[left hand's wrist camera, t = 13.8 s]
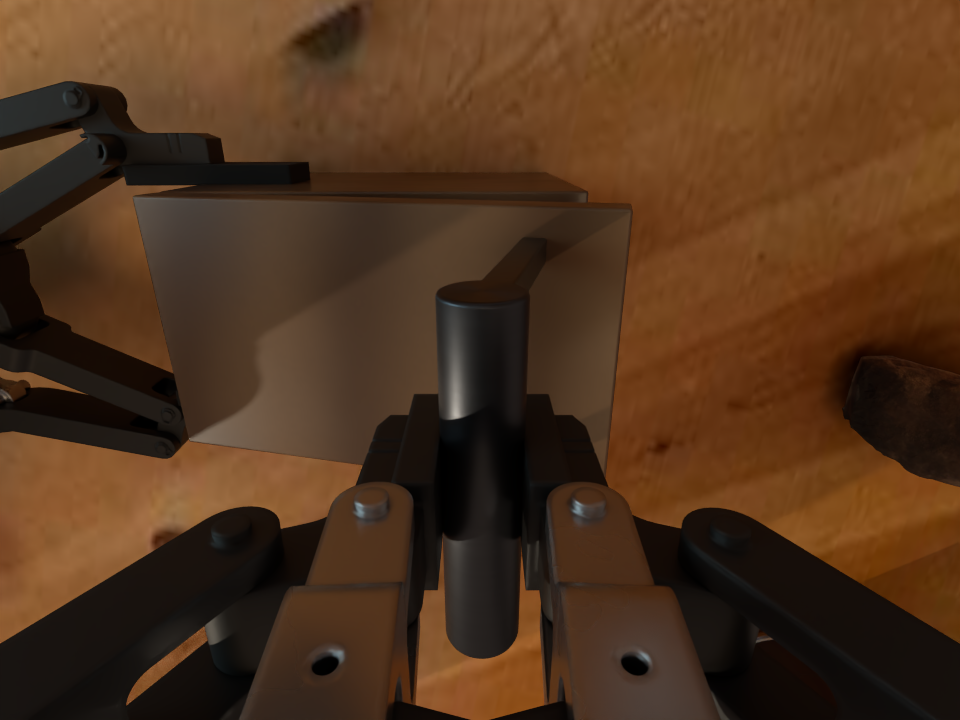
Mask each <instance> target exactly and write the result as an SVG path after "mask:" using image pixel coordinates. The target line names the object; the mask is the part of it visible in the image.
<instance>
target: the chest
mask: <svg viewBox="0 0 960 720" xmlns="http://www.w3.org/2000/svg"><path fill="white" fill-rule="evenodd" d="M162 192H173V193H214V194H255V195H296V196H337V197H377V198H418V199H459V200H500V201H541V202H582V203H588V192H587V191H585V190H583V189H581V188H579V187H576V186H574V185H572V184H570V183H568V182H566V181H563V180H561V179H559V178H557V177H555V176H553V175H550V174H548V173H310V180H307V181H303V182H299V183H295V184H203V185H197V186H191V187H185V188H179V189H174V190H168V191H162Z"/></svg>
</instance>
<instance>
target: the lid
mask: <svg viewBox="0 0 960 720" xmlns="http://www.w3.org/2000/svg"><path fill="white" fill-rule="evenodd" d="M133 201H134V205H135V209H136V214H137V218H138V222H139V227H140V231H141V235H142V240H143V244H144V248H145V252H146V257H147V261H148V265H149V270H150V274H151V278H152V282H153V287H154V291H155V295H156V300H157V304H158V308H159V313H160V317H161V321H162V325H163V330H164V334H165V338H166V343H167V347H168V351H169V356H170V360H171V364H172V368H173V373H174V377H175V381H176V386H177V390H178V394H179V399H180V403H181V407H182V411H183V416H184V420H185V424H186V429H187V433H188V437H189V440H190V441H191V442H198V443H205V444H212V445H220V446H227V447H234V448H242V449H249V450H256V451H263V452H271V453H278V454H285V455H293V456H300V457H307V458H315V459H322V460H329V461H337V462H344V463H351V464H358V465H363V464H364V461H365V458H366V455H367V453H368V450H369V447H370V444H371V442H372V439H373V436H374V433H375V430H376V428H377V426H378V425H379V424H380V423H381V422H383V421H384V420H385V419H386V418H387V417H389V416H390V415H409V411H410V407H411V403H412V400H413V396H414V394H438V398H439V429H440V452H441V484H442V515H443V553H444V584H445V615H446V633H447V636H448V639H449V640H450V642H451V643H452V645H453V646H454V647H455V648H456V649H457V650H458V651H459V652H461V653H463V654H464V655H467V656H469V657H473V658H479V659H485V658H492V657H495V656H498V655H500V654H502V653H504V652H505V651H506V650H507V649H509V648H510V646H511V645H512V644H513V642H514V641H515V639H516V637H517V634H518V624H519V596H520V568H521V537H520V532H521V503H522V474H523V446H524V437H525V429H526V401H527V394H549V397H550V400H551V404H552V408H553V411H554V415H573V416H574V417H575V418H577V419H578V420H579V421H580V422H581V423H583V424H584V425H585V426H586V428H587V431H588V433H589V436H590V439H591V442H592V444H593V447H594V450H595V453H596V455H597V458H598V460H599V463H600V466H601V468H602V471H603V474H604V477H606V467H607V457H608V447H609V438H610V428H611V418H612V409H613V399H614V389H615V380H616V370H617V360H618V350H619V341H620V331H621V321H622V312H623V302H624V292H625V283H626V273H627V263H628V253H629V244H630V234H631V224H632V215H633V210H632V206H631V204H623V203H582V202H541V201H500V200H459V199H418V198H377V197H337V196H296V195H255V194H214V193H173V192H159V193H151V194H142V195H135V196H133Z"/></svg>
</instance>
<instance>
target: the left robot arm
mask: <svg viewBox="0 0 960 720" xmlns="http://www.w3.org/2000/svg"><path fill="white" fill-rule="evenodd" d="M520 537H521V547H522V557H523V567H524V577H525V587H526V590H539V591H540V598H541V614H540V637H541V654H542V671H543V688H544V704H545V705H544V706H540V707H536V708H532V709H529V710H525V711H521V712H517V713H514V714H510V715H506V716H502V717H498V718H495V719H491V720H960V644H959V643H958V642H956V641H954V640H953V639H951V638H949V637H948V636H946V635H944V634H943V633H941V632H939V631H938V630H936V629H935V628H933V627H931V626H930V625H928V624H926V623H925V622H923V621H921V620H920V619H918V618H916V617H915V616H913V615H911V614H910V613H908V612H906V611H905V610H903V609H901V608H900V607H898V606H897V605H895V604H893V603H892V602H890V601H888V600H887V599H885V598H883V597H882V596H880V595H878V594H877V593H875V592H873V591H872V590H870V589H868V588H867V587H865V586H863V585H862V584H860V583H859V582H857V581H855V580H854V579H852V578H850V577H849V576H847V575H845V574H844V573H842V572H840V571H839V570H837V569H835V568H834V567H832V566H830V565H829V564H827V563H825V562H824V561H822V560H821V559H819V558H817V557H816V556H814V555H812V554H811V553H809V552H807V551H806V550H804V549H802V548H801V547H799V546H797V545H796V544H794V543H792V542H791V541H789V540H787V539H786V538H784V537H783V536H781V535H779V534H778V533H776V532H774V531H773V530H771V529H769V528H768V527H766V526H764V525H763V524H761V523H759V522H758V521H756V520H754V519H752V518H751V517H749V516H746V515H744V514H741V513H738V512H735V511H732V510H728V509H722V508H702V509H697V510H695V511H692V512H691V513H689V514H688V515H687V516H686V517H685V518H684V520H683V523H682V528H681V529H680V528H676V527H671V526H666V525H662V524H657V523H653V522H649V521H646V520H643V519H640V518H638V517H636V516H634V515H632V513H631V510H630V507H629V505H628V503H627V501H626V500H625V499H624V498H623V497H622V496H621V495H620V494H619V493H617V492H616V491H614V490H612V489H611V488H609V487H608V485H607V482H606V479H605V477H604V474H603V471H602V468H601V466H600V463H599V460H598V458H597V455H596V453H595V450H594V447H593V444H592V442H591V439H590V436H589V433H588V431H587V428H586V426H585V425H584V424H583V423H581V422H580V421H579V420H578V419H577V418H575V417H574V416H573V415H554V411H553V408H552V404H551V400H550V397H549V394H527V401H526V429H525V437H524V446H523V474H522V503H521V532H520ZM442 538H443V515H442V484H441V452H440V429H439V398H438V394H414V396H413V400H412V403H411V407H410V411H409V415H390V416H389V417H387V418H386V419H385V420H384V421H383V422H381V423H380V424H379V425H378V426H377V428H376V430H375V433H374V436H373V439H372V442H371V444H370V447H369V450H368V453H367V455H366V458H365V461H364V464H363V467H362V469H361V472H360V475H359V478H358V480H357V483H356V486H354V487H351V488H349V489H347V490H346V491H344V492H343V493H341V494H340V495H339V496H338V497H337V498H336V499H335V500H334V501H333V503H332V505H331V507H330V510H329V513H328V516H327V517H325V518H323V519H320V520H318V521H314V522H311V523H307V524H302V525H297V526H293V527H288V528H283V529H281V528H280V522H279V519H278V517H277V515H276V514H275V513H273V512H272V511H270V510H268V509H265V508H261V507H252V506H250V507H239V508H233V509H229V510H226V511H223V512H220V513H218V514H215V515H213V516H211V517H209V518H207V519H206V520H204V521H202V522H201V523H199V524H197V525H196V526H194V527H192V528H191V529H189V530H187V531H186V532H184V533H182V534H181V535H179V536H177V537H176V538H174V539H173V540H171V541H169V542H168V543H166V544H164V545H163V546H161V547H159V548H158V549H156V550H154V551H153V552H151V553H149V554H148V555H146V556H144V557H143V558H141V559H139V560H138V561H136V562H135V563H133V564H131V565H130V566H128V567H126V568H125V569H123V570H121V571H120V572H118V573H116V574H115V575H113V576H111V577H110V578H108V579H106V580H105V581H103V582H101V583H100V584H98V585H97V586H95V587H93V588H92V589H90V590H88V591H87V592H85V593H83V594H82V595H80V596H78V597H77V598H75V599H73V600H72V601H70V602H68V603H67V604H65V605H64V606H62V607H60V608H59V609H57V610H55V611H54V612H52V613H50V614H49V615H47V616H45V617H44V618H42V619H40V620H39V621H37V622H35V623H34V624H32V625H30V626H29V627H27V628H26V629H24V630H22V631H21V632H19V633H17V634H16V635H14V636H12V637H11V638H9V639H7V640H6V641H4V642H2V643H1V644H0V720H469V719H465V718H462V717H458V716H454V715H450V714H446V713H443V712H439V711H435V710H431V709H428V708H424V707H420V706H416V705H415V704H416V687H417V670H418V654H419V637H420V615H419V613H420V611H421V608H422V604H423V596H424V590H438V581H439V570H440V559H441V548H442ZM202 627H205V631H206V635H207V639H208V641H207V642H205V643H204V644H203V645H202V646H200V647H199V648H198V649H197V650H195V651H194V652H193V653H192V654H190V655H189V656H188V657H187V658H185V659H184V660H183V661H182V662H180V663H179V664H178V665H177V666H175V667H174V668H173V669H172V670H171V671H169V672H168V673H167V674H166V675H164V676H163V677H162V678H161V679H159V680H158V681H157V682H156V683H154V684H153V685H152V686H151V687H149V688H148V689H147V690H146V691H144V692H143V693H142V694H141V695H139V696H138V697H137V698H136V699H134V700H133V701H132V702H131V703H129V704H128V705H127V706H126V702H127V698H128V696H129V693H130V691H131V689H132V687H133V686H134V684H135V683H136V682H137V680H138V679H139V678H140V677H141V676H142V675H143V674H144V673H145V672H146V671H147V670H148V669H149V668H151V667H152V666H153V665H155V664H156V663H157V662H158V661H160V660H161V659H162V658H164V657H165V656H166V655H167V654H169V653H170V652H171V651H173V650H174V649H175V648H177V647H178V646H179V645H180V644H182V643H183V642H184V641H186V640H187V639H188V638H189V637H191V636H192V635H193V634H195V633H196V632H197V631H198V630H200V629H201V628H202Z"/></svg>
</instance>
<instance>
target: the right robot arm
mask: <svg viewBox="0 0 960 720" xmlns="http://www.w3.org/2000/svg"><path fill="white" fill-rule="evenodd" d="M126 111H127V102H126V98H125V97H124V95H123V94H122V93H121V92H120V91H119V90H118V89H116V88H113V87H109V86H102V85H95V84H88V83H80V82H73V81H65V82H62V83H58V84H55V85H51V86H47V87H44V88H40V89H37V90H33V91H29V92H26V93H22V94H19V95H15V96H11V97H8V98H4V99H1V100H0V150H3V149H7V148H10V147H14V146H18V145H21V144H25V143H29V142H33V141H36V140H40V139H44V138H47V137H51V136H55V135H58V134H62V133H66V132H70V131H73V130H77V129H81V128H83V130H84V132H85V133H84V134H81V135H80V136H81V138H87V139H85V140H84V141H82V142H81V143H79V144H77V145H76V146H74V147H73V148H71V149H69V150H68V151H66V152H65V153H63V154H62V155H60V156H58V157H57V158H55V159H54V160H52V161H51V162H49V163H47V164H46V165H44V166H43V167H41V168H39V169H38V170H36V171H35V172H33V173H32V174H30V175H28V176H27V177H25V178H24V179H22V180H20V181H19V182H17V183H16V184H14V185H13V186H11V187H9V188H8V189H6V190H5V191H3V192H2V193H0V368H2V369H4V370H7V371H10V372H31V373H34V374H37V375H40V376H42V377H45V378H47V379H50V380H52V381H55V382H57V383H60V384H62V385H65V386H68V387H70V388H73V389H75V390H78V391H80V392H83V393H85V394H81V393H76V392H70V391H65V390H60V389H53V388H42V387H38V388H31V386H30V384H29V382H27V381H26V380H20V381H18V382H16V381H13V380H6V379H3V378H1V377H0V433H2V432H10V431H15V432H20V433H26V434H31V435H36V436H42V437H47V438H53V439H58V440H64V441H69V442H75V443H80V444H86V445H91V446H97V447H102V448H107V449H113V450H118V451H124V452H129V453H135V454H140V455H146V456H151V457H157V458H162V459H168V458H170V457H172V456H173V455H174V454H175V453H176V452H177V451H178V450H179V449H180V448H181V447H182V446H183V445H184V444H185V442H186V441H187V440H188V439H189V437H188V433H187V429H186V424H185V420H184V416H183V411H182V407H181V403H180V399H179V394H178V390H177V386H176V381H175V377H174V374H173V373H170V372H168V371H166V370H163V369H161V368H158V367H156V366H153V365H151V364H149V363H146V362H144V361H141V360H139V359H136V358H134V357H132V356H129V355H127V354H124V353H122V352H119V351H117V350H115V349H112V348H110V347H107V346H105V345H102V344H100V343H98V342H95V341H93V340H90V339H88V338H85V337H83V336H81V335H78V334H76V333H74V332H72V331H71V327H70V325H68V324H66V323H64V322H62V321H59V320H57V319H54V318H52V317H50V316H47V315H45V314H44V311H43V308H42V305H41V301H40V299H39V297H38V295H37V294H36V292H35V290H34V289H33V287H32V285H31V283H30V273H29V264H28V261H27V257H26V254H25V251H24V249H17V248H16V247H15V246H16V245H17V244H19V243H21V242H22V241H24V240H26V239H27V238H29V237H31V236H32V235H34V234H35V233H37V232H39V231H40V230H41V227H42V226H43V225H45V224H47V223H48V222H50V221H52V220H53V219H55V218H56V217H58V216H60V215H61V214H63V213H65V212H66V211H68V210H70V209H71V208H73V207H74V206H76V205H78V204H79V203H81V202H83V201H84V200H86V199H88V198H89V197H91V196H93V195H94V194H96V193H97V192H99V191H101V190H102V189H104V188H106V187H107V186H109V185H111V184H112V183H114V182H116V181H117V180H119V179H120V178H122V177H124V176H125V180H126V184H127V185H203V184H295V183H299V182H303V181H307V180H310V171H309V162H225V161H224V155H223V149H222V143H221V138H218V137H216V136H213V135H211V134H208V133H146V132H144V131H142V130H140V129H138V128H137V127H136V126H135V125H134V124H133V122H132V121H131V119H130V117H129V116H128V114H127V112H126ZM86 394H88V395H86Z"/></svg>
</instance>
